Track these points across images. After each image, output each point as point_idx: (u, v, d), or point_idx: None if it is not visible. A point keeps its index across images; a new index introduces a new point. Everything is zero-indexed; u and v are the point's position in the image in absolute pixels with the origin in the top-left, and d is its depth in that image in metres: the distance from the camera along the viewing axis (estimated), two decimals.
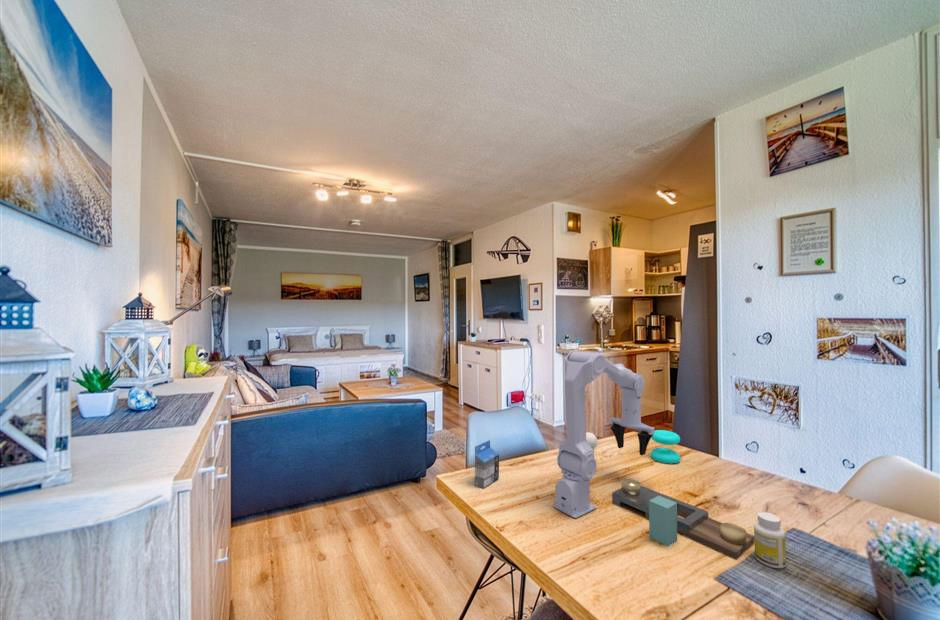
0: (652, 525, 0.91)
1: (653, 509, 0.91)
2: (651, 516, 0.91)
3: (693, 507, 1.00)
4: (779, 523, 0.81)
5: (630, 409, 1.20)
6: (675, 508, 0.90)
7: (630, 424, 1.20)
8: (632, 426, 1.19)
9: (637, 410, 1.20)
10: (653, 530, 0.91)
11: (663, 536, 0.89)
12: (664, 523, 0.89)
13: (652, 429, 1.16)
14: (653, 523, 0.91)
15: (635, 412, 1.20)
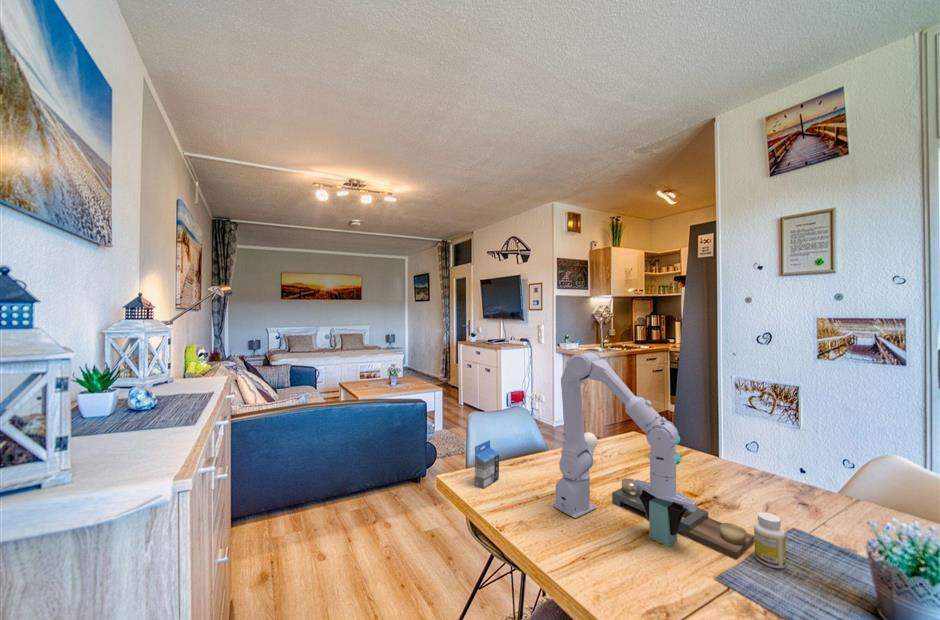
0: (652, 525, 0.91)
1: (653, 509, 0.91)
2: (651, 516, 0.91)
3: None
4: (779, 523, 0.81)
5: (650, 469, 0.92)
6: None
7: (662, 495, 0.89)
8: (665, 498, 0.88)
9: (655, 474, 0.90)
10: (653, 530, 0.91)
11: (663, 536, 0.89)
12: (664, 523, 0.89)
13: (693, 505, 0.85)
14: (653, 523, 0.91)
15: (669, 479, 0.88)
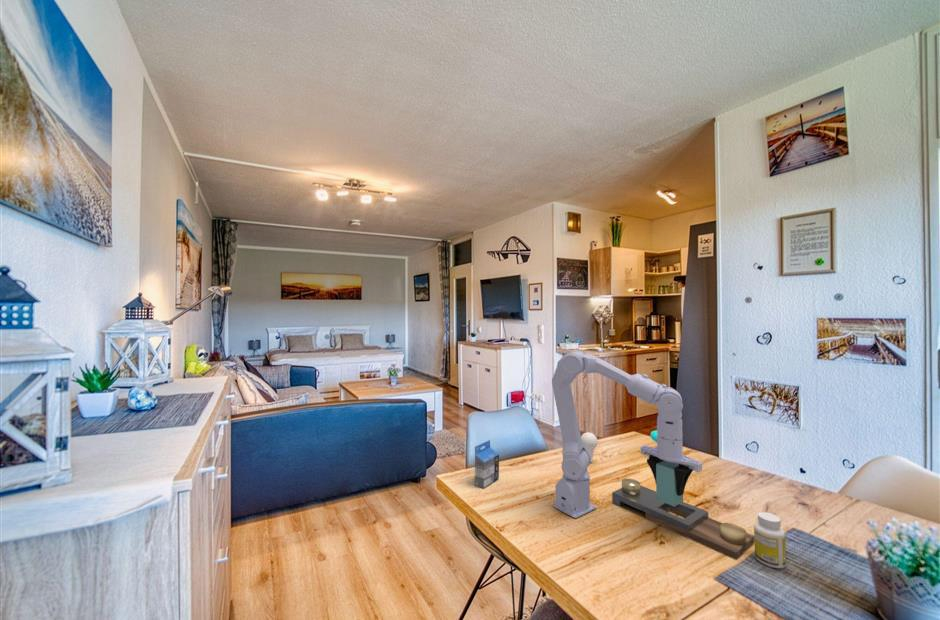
0: (659, 487, 0.95)
1: (660, 471, 0.95)
2: (658, 478, 0.95)
3: (693, 507, 1.00)
4: (779, 523, 0.81)
5: (658, 434, 0.95)
6: None
7: (669, 457, 0.92)
8: (672, 460, 0.92)
9: (665, 438, 0.93)
10: (660, 492, 0.95)
11: (669, 496, 0.93)
12: (670, 484, 0.92)
13: (699, 465, 0.89)
14: (660, 485, 0.94)
15: (676, 441, 0.92)
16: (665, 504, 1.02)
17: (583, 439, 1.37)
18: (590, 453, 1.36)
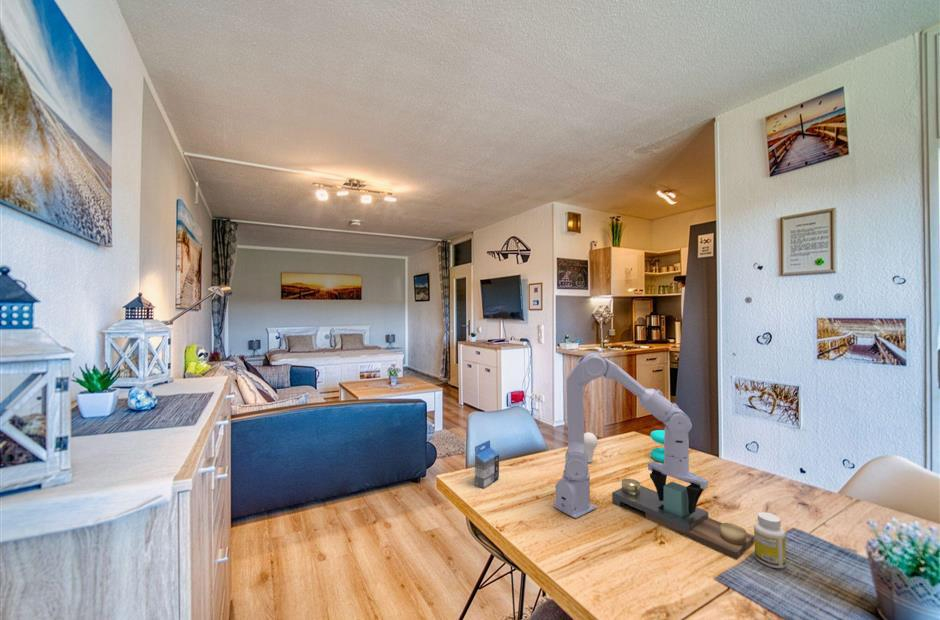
0: (666, 508, 0.99)
1: (667, 493, 0.99)
2: (665, 500, 0.99)
3: None
4: (779, 523, 0.81)
5: (667, 453, 0.99)
6: None
7: (676, 474, 0.97)
8: (679, 477, 0.96)
9: (675, 456, 0.97)
10: None
11: None
12: (677, 506, 0.97)
13: (705, 482, 0.93)
14: (668, 506, 0.99)
15: (682, 459, 0.96)
16: None
17: None
18: (590, 453, 1.36)
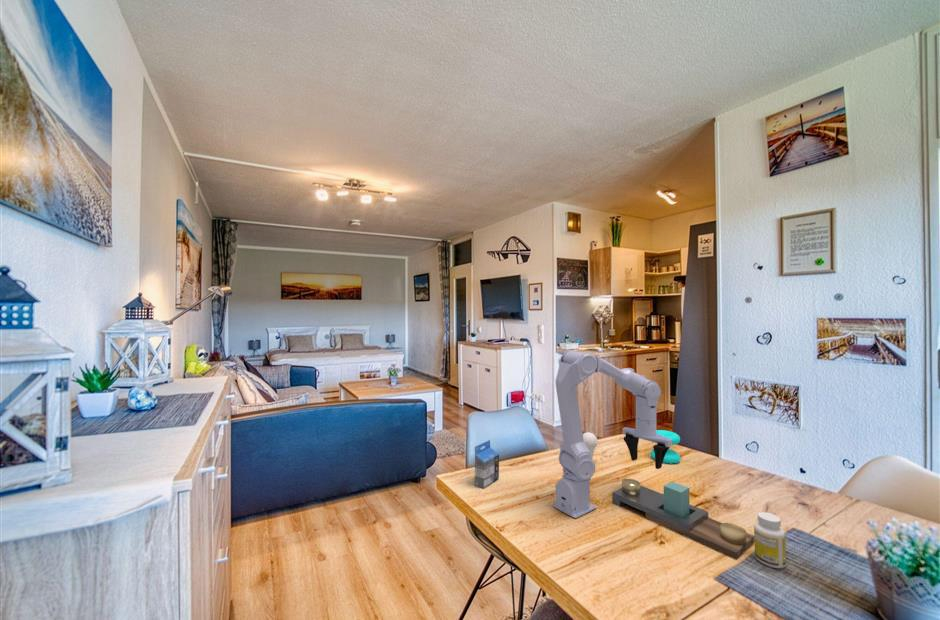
0: (666, 508, 0.99)
1: (667, 493, 0.99)
2: (665, 500, 0.99)
3: (693, 507, 1.00)
4: (779, 523, 0.81)
5: (642, 418, 1.11)
6: (687, 492, 0.98)
7: (645, 435, 1.11)
8: (647, 437, 1.10)
9: (650, 420, 1.10)
10: None
11: None
12: (677, 506, 0.97)
13: (669, 441, 1.07)
14: (668, 506, 0.99)
15: (650, 422, 1.11)
16: None
17: None
18: (590, 453, 1.36)
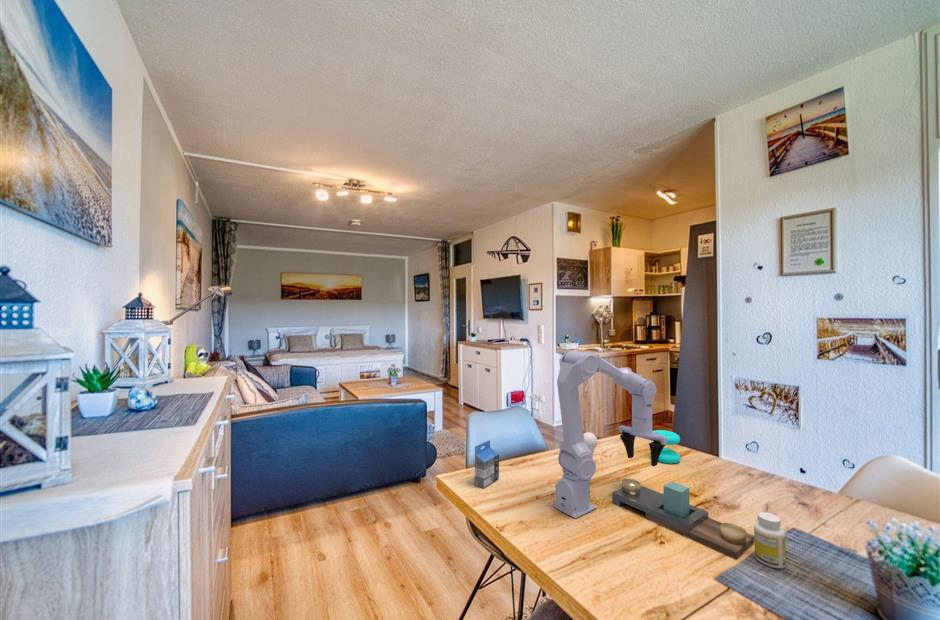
0: (666, 508, 0.99)
1: (667, 493, 0.99)
2: (665, 500, 0.99)
3: (693, 507, 1.00)
4: (779, 523, 0.81)
5: (639, 417, 1.13)
6: (687, 492, 0.98)
7: (641, 433, 1.13)
8: (643, 435, 1.12)
9: (646, 418, 1.13)
10: None
11: None
12: (677, 506, 0.97)
13: (665, 439, 1.09)
14: (668, 506, 0.99)
15: (646, 420, 1.13)
16: None
17: None
18: None
